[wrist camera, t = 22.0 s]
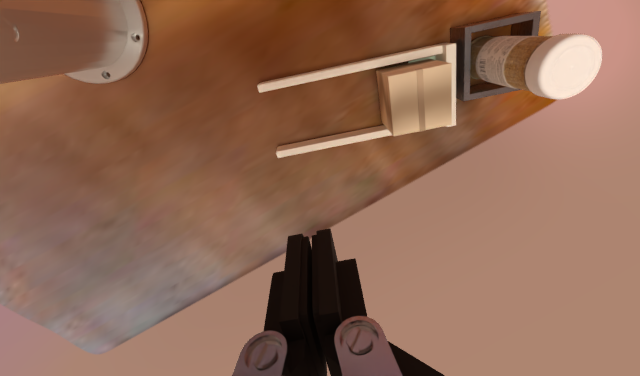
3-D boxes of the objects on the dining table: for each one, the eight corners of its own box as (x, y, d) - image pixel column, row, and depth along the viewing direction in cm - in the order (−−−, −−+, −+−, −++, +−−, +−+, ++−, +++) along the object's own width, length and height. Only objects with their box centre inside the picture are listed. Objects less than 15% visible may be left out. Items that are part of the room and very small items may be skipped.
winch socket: (450, 28, 33) (465, 27, 30) (518, 13, 32) (540, 10, 29) (450, 95, 36) (464, 101, 33) (512, 82, 35) (532, 87, 32)
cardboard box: (375, 69, 34) (388, 76, 29) (429, 58, 34) (451, 62, 28) (381, 122, 37) (393, 136, 31) (430, 112, 37) (451, 125, 31)
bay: (259, 82, 35) (255, 86, 32) (444, 42, 33) (456, 43, 31) (279, 152, 38) (276, 161, 36) (445, 118, 37) (455, 125, 34)
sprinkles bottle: (499, 73, 35) (598, 93, 23) (459, 82, 35) (537, 106, 23) (502, 30, 33) (612, 26, 21) (459, 39, 33) (544, 42, 21)
